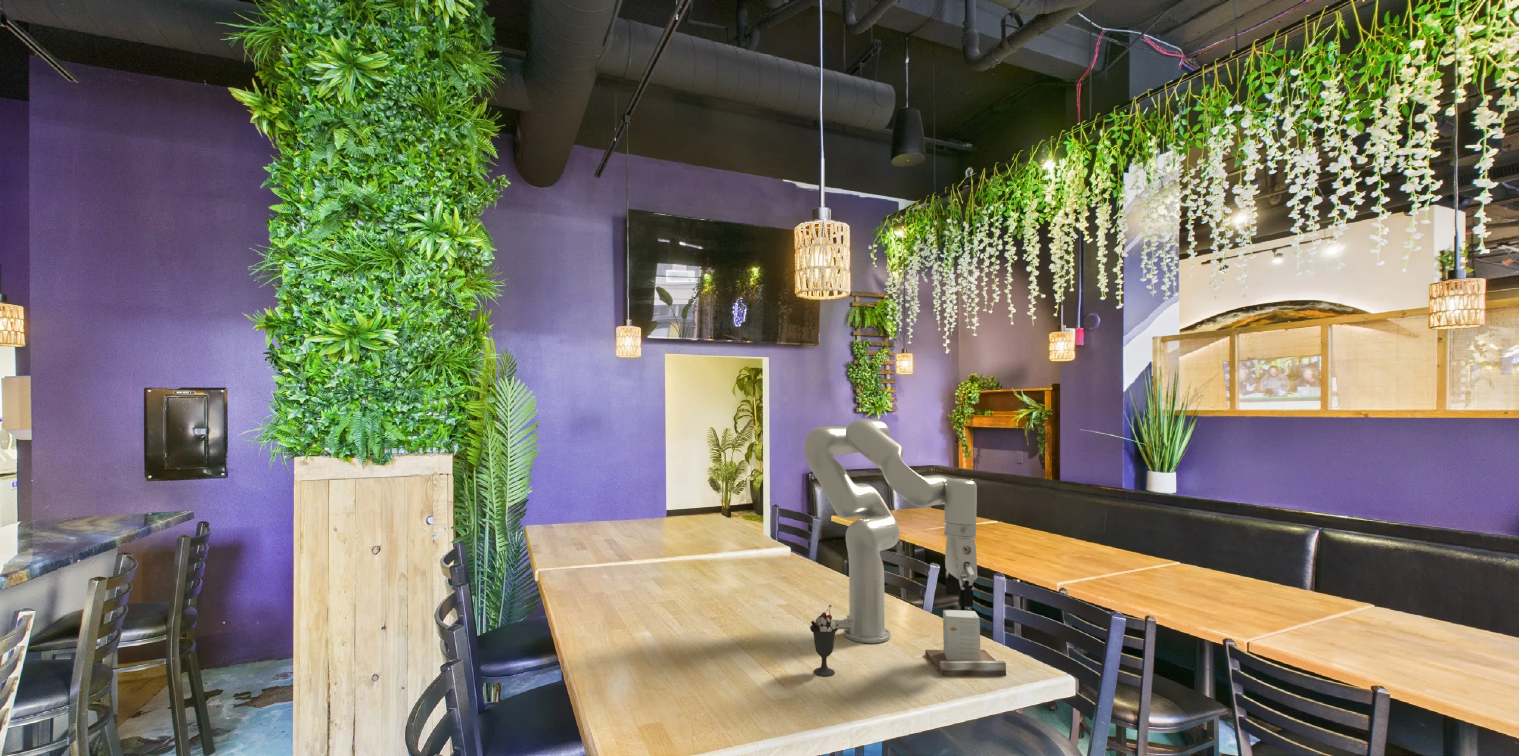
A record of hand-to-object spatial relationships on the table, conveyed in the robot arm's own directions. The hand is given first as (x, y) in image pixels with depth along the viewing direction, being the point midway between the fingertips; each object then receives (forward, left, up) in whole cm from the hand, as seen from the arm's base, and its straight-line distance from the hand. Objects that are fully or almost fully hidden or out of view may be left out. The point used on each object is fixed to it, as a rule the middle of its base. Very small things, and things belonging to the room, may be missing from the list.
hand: (958, 599), depth 153 cm
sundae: (-34, -6, -15) cm, 38 cm away
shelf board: (+1, -2, -15) cm, 15 cm away
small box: (0, 0, -14) cm, 14 cm away
